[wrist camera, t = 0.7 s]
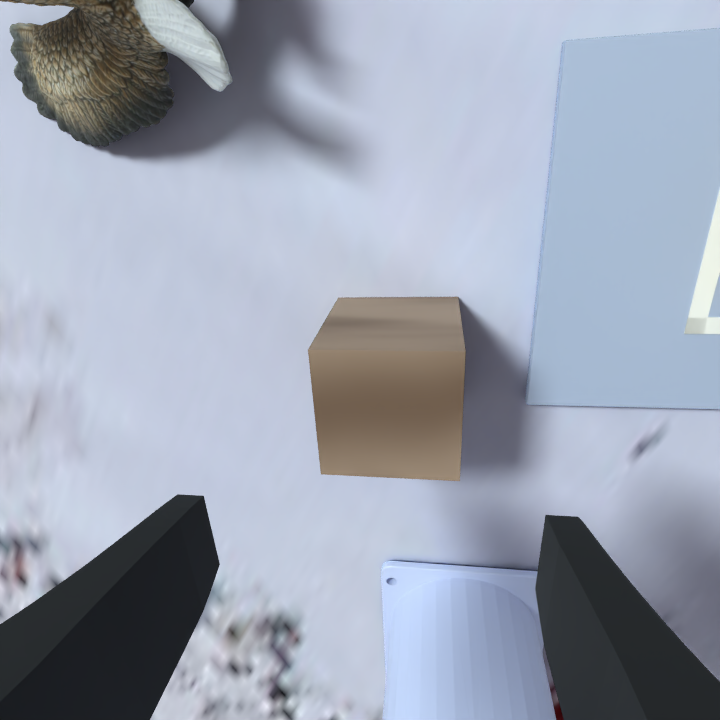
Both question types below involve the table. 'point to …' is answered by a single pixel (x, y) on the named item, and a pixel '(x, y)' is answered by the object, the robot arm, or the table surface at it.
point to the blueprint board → (632, 227)
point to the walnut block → (390, 388)
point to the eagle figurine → (111, 63)
